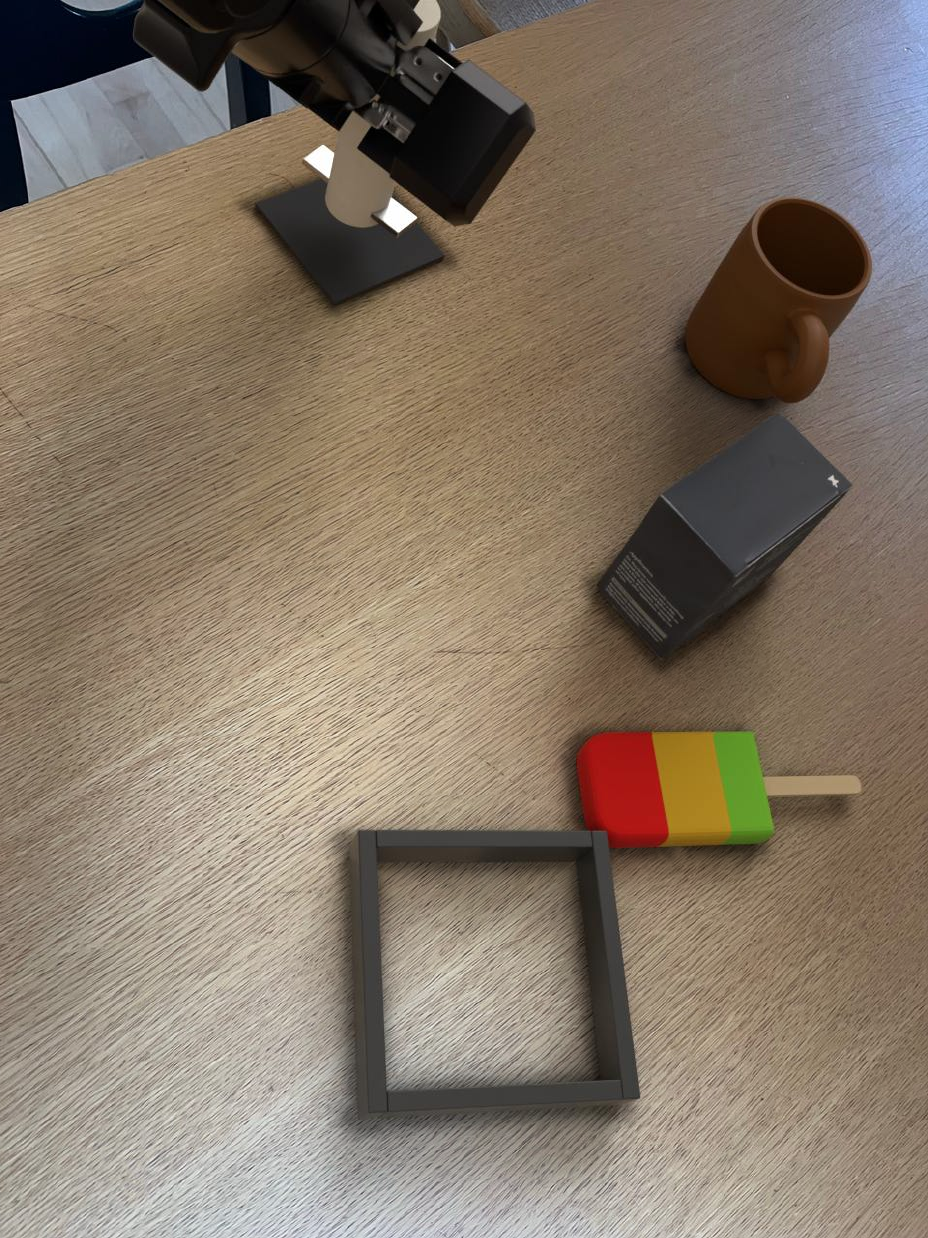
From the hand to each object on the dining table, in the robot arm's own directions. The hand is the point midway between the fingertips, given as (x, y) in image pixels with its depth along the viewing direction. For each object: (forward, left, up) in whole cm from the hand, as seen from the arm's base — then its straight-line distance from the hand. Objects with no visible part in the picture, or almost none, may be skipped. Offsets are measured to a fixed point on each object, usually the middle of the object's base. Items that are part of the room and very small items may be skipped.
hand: (394, 100), depth 66 cm
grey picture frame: (+4, -43, -9) cm, 44 cm away
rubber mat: (-1, -1, -9) cm, 9 cm away
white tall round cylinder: (-1, -1, -7) cm, 7 cm away
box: (+17, -23, -9) cm, 30 cm away
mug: (+23, -9, -9) cm, 26 cm away
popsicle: (+17, -35, -9) cm, 40 cm away
